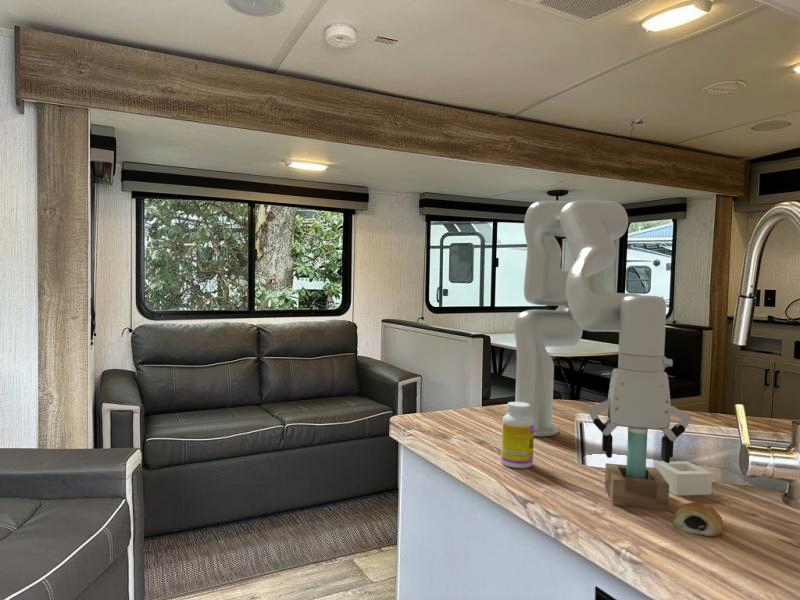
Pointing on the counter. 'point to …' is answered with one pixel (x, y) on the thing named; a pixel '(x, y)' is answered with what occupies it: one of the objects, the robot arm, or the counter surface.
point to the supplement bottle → (517, 436)
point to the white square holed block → (685, 478)
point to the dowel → (636, 452)
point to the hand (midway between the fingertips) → (636, 458)
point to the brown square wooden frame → (636, 488)
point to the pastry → (698, 519)
